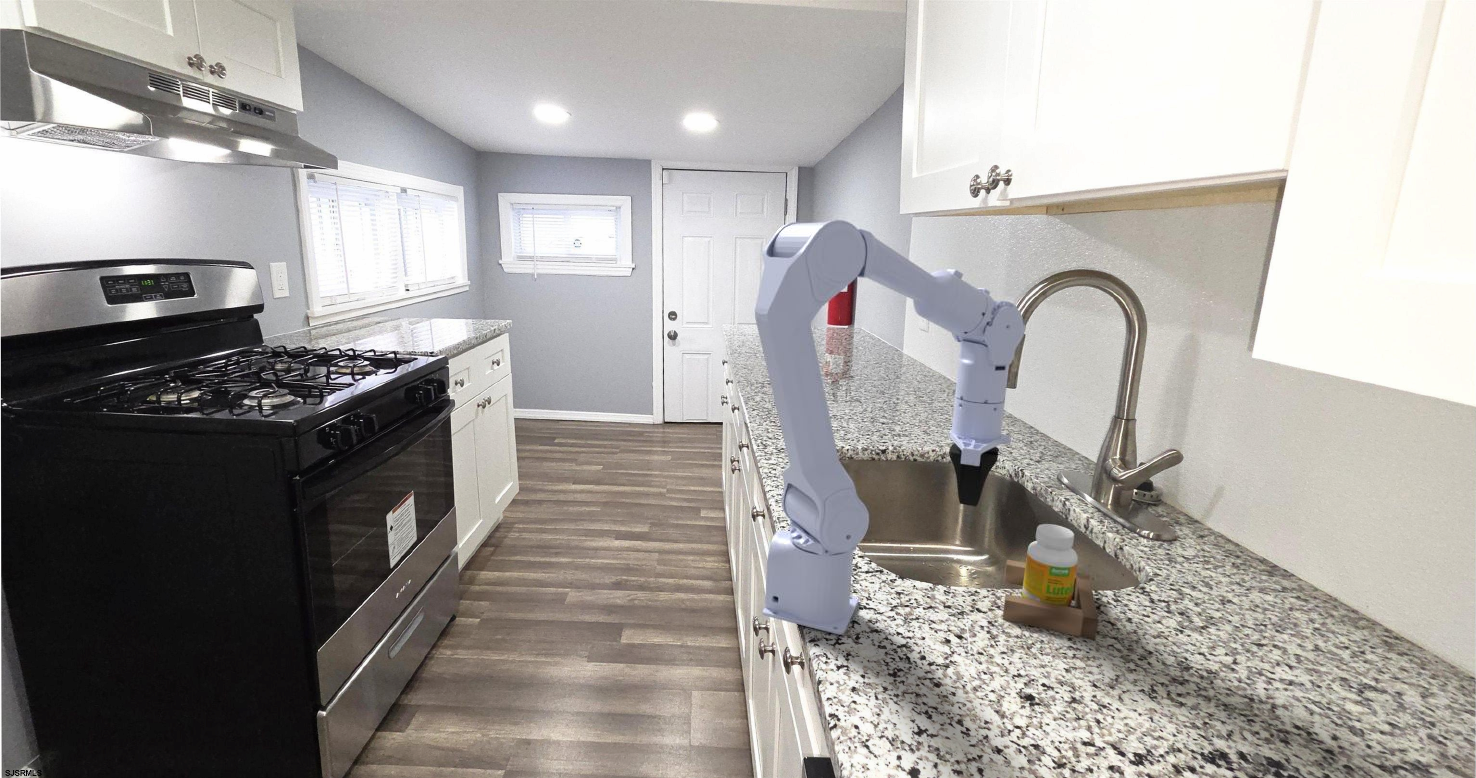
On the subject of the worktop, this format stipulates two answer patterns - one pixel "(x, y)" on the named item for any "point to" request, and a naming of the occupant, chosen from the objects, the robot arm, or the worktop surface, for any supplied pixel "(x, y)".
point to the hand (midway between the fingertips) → (968, 503)
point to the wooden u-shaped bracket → (1052, 607)
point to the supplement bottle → (1051, 566)
